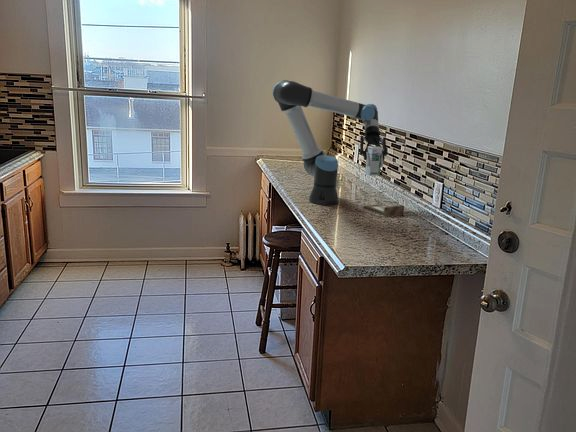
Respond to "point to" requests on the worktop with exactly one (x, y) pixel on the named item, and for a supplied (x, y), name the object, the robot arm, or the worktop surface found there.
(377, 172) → the syrup box
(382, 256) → the worktop surface
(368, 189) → the worktop surface
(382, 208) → the walnut stand board
